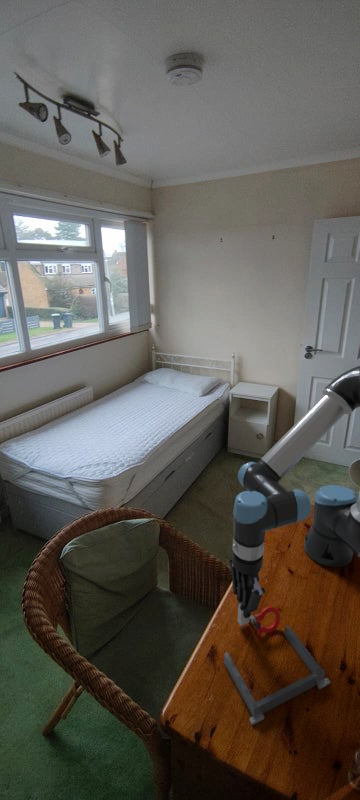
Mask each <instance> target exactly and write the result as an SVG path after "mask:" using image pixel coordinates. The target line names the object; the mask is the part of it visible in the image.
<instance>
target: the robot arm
mask: <svg viewBox="0 0 360 800" xmlns="http://www.w3.org/2000/svg"><path fill="white" fill-rule="evenodd" d="M358 408H360V365H358V366H355V367H353V368H350V369H348V370H346V371H345V372H342V373H341V374H340V375H338V376H337V377H336V378H334V379H333V380H332V381H330V383H329V384H327V385H326V387H324V388H323V390H322V396H321V397H320V398H319V399H318V400H317V401H316V402H315V403H314V404H313V405H312V406H311V407H310V408H309V409H308V410H307V411H306V412H305V413H304V414H303V416H302V417H301V418H299V419H298V421H296V423H295V424H294V425H293V426H291V428H289V430H288V431H287V432H286V433H285V434H283V436H282V437H281V438H280V439H279V440H278V441H277V442H276V443H274V445H273V446H272V447H271V448H270V449H269V450H268V451H266V453H265V454H264V455H263V456H262V457H261V458H260V460H258V461H257V462H254V461H248V462H247V463H244V464H243V465H242V466H241V467H240V468H239V470H238V473H237V479H238V481H239V482H238V483H239V484H240V485H241V486H242V487H243V488H244V491H242V492H240V493H238V494H237V495H236V497H235V500H234V505H233V512H232V514H233V527H232V528H233V529H232V530H233V531H232V551H231V558H229V559H228V561H229V565H230V573H231V581H232V591H233V592H232V593H233V594H234V595H235V596H236V600H237V608H238V609H237V623H238V625H239V626H240V627H242V626H244V625H246V624H249V623H250V621H251V620H250V616H251V615H252V613H253V612H255V611H257V610H258V608H259V605H260V603H261V599H262V596H263V594H265V593H266V589H265V588H264V587H261V586H260V584H259V582H260V577H259V573H260V571H261V570H262V569H263V563H264V551H265V537H266V532H268V531H272V530H275V529H278V528H283V527H285V526H289V525H293V524H295V525H296V524H297V523H300V522H301V521H305V520H307V519H309V518H310V515H311V514H312V513H313V514H312V522H311V526H310V528H309V530H308V532H307V533H306V535H305V537H304V541H303V549H304V552H305V553H306V555H307V556H308V557H309V558H310V559H312V561H314V562H316V563H317V564H320V565H323V566H325V567H329V568H342V567H346V566H347V565H349V564H350V563H351V562H352V560H353V555H354V553H355V554H356V555H357V556H358V557H359V558H360V491H359V493H358V497H357V493H356V492H355V491H354V490H353V489H351V488H349V487H346V486H344V485H343V486H342V485H335V484H331V485H330V484H329V485H324V486H322V487H320V488H318V489H317V491H316V494H315V498H314V505H313V512H312V505H311V501H310V498H309V496H308V495H307V493H306V492H304V491H303V490H301V489H290V490H288V489H286V488H285V486H283V485H282V484H281V483H280V480H282V478H284V476H285V475H286V474H287V473H289V472H290V470H291V469H292V468H294V467H295V465H296V464H297V463H299V461H300V460H302V458H303V457H304V456H305V455H306V454H307V453H308V452H309V451H310V450H311V449H312V448H313V447H314V446H315V445H316V444H317V443H318V442H319V441H320V440H321V439H322V438H323V437H324V436H325V435H326V434H327V432H329V431H330V430H331V428H332V427H333V426H335V424H337V423H338V421H340V419H341V418H342V417H343V416H344V415H350V414H351V413H353V412H354V411H355V410H356V409H358Z"/></svg>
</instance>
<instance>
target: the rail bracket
mask: <svg viewBox="0 0 360 800" xmlns="http://www.w3.org/2000/svg"><path fill="white" fill-rule="evenodd" d="M284 628H285V629H284V637H285V638H286V639H287V641H288V643H290V645H291V646H292V647H293V649H294V651H295V652H296V653H297V654H298V656H299V657H300V659H301V660H302V661H303V663H304V664H305V665H306V667H307V668H308V670H309V671H310V672H311V674H308V675H307V676H305V677H302V678H301V679H299V680H297V681H295V682H293V683H290V684H289V685H287V686H285V687H283V688H281V689H278V690H277V691H275V692H273V693H270V695H267V696H265V697H263V698H262V699H259V700H257V701H256V700H255V698H254V696H253V695H252V693H251V691H250V689H249V688H248V686H247V684H246V683H245V681H244V679H243V677H242V675H241V674H240V672H239V670H238V667H236V664H235V662H234V661H233V659H232V657H231V655H230V653H229V652H228V651H227V652H225V653H224V654H223V663H224V666H225V668H226V669H227V672H228V673H229V675H230V677H231V679H232V681H233V684H235V686H236V689H237V691H238V692H239V694H240V696H241V697H242V699H243V701H244V704H245V705H246V707H247V709H248V711H249V713H250V714H251V717H249V719H248V720H249V722H250V724H251V726H254V725H256V724H258V723H259V722H262V721H264V720H265V715H264V714H265V713H267V712H268V711H271V710H272V709H274V708H277V707H278V706H280V705H281V704H284V703H285V702H288V701H289V700H291V699H294V698H295V697H297V696H299V695H301V694H302V693H304V692H307V691H309V690H310V689H312V688H314V687H315V686H317V688H318V690H321V689H324V688H325V687H328V686H329V685H330V684H331V680H329V678H328V677H326V678H325V674H326V673H325V671H324V670H323V668H322V667H321V665H320V664H319V663H318V662H317V661H316V659H315V658H314V657H313V655H312V654H311V653H310V652H309V650H308V649H307V647H306V646H305V645H304V644H303V642H302V641H301V640H300V639H299V637H298V636H297V635H296V633H295V631H294V630H292V628H291V627H290V626H289V625H286V626H285V627H284Z"/></svg>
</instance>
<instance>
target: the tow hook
mask: <svg viewBox="0 0 360 800" xmlns="http://www.w3.org/2000/svg"><path fill="white" fill-rule="evenodd" d="M268 613H274V615H275V619H274V622H273V624H272V625H270V626H268V627H265V626H264V625H262V624H261V622H262V621H263V620H264V618H265V616H266V615H267V614H268ZM249 621H250V622H251V623H252V625H253V627H255V629H256V634H257V636H262V635H263V634H271V633H272V632H274V631H275V630H276V629H277V628H278V627H279V625H280V623H281V614H280V611H279V610H278V608H276V607H275V606H271V605H270V606H266V607H265V608H264V609H262V610H261V612H260V613H254V615H253V614H251V616H250V620H249Z"/></svg>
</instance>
